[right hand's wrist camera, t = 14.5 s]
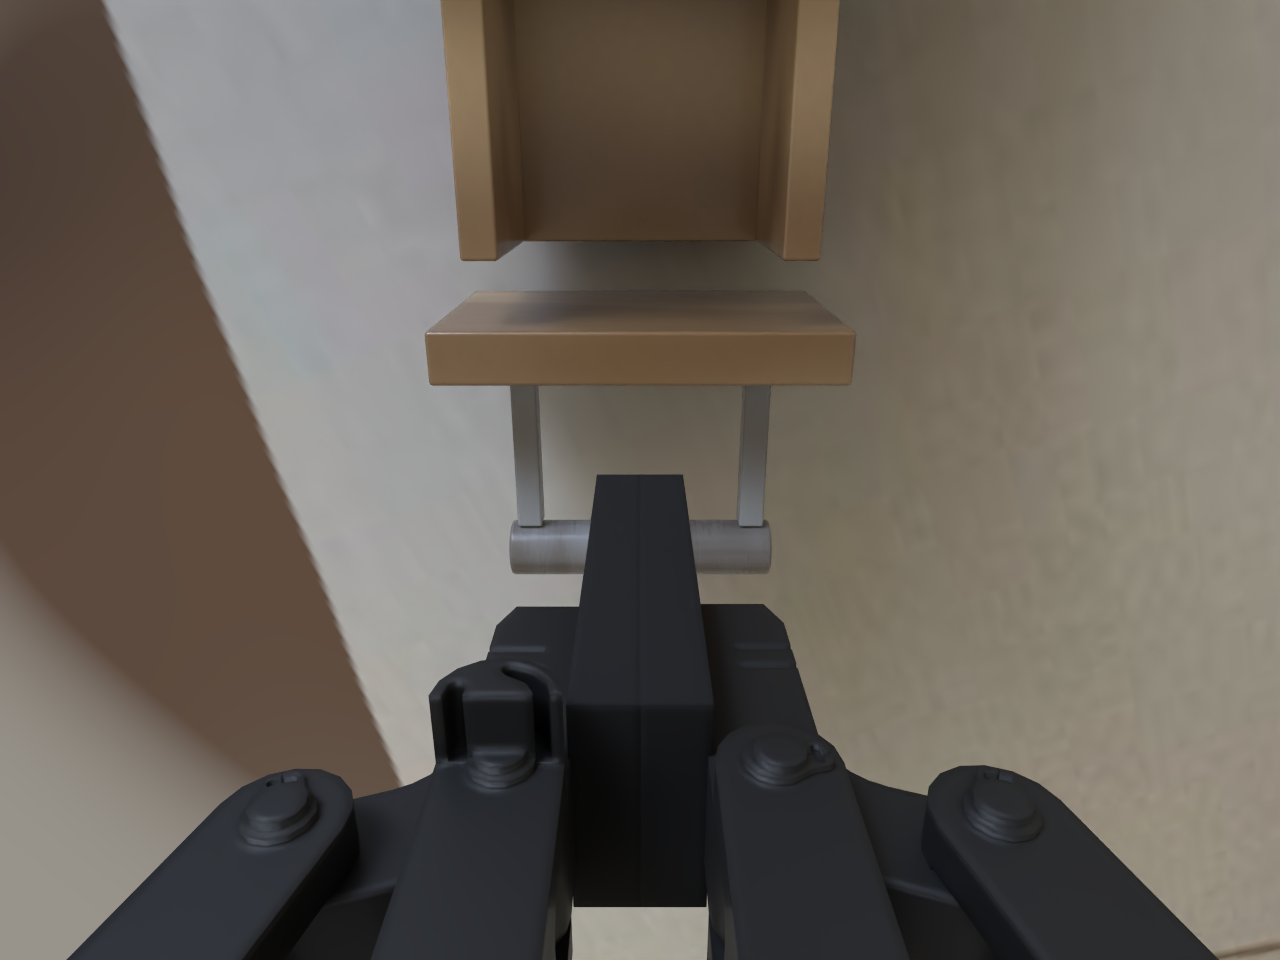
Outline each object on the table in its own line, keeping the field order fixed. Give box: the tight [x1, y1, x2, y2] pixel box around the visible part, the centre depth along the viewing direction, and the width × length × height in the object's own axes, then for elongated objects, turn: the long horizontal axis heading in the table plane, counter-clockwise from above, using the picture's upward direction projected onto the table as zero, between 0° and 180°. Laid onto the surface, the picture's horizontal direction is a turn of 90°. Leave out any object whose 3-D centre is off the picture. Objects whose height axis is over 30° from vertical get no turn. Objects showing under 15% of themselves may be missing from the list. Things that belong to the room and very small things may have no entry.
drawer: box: [425, 0, 856, 574], centre depth 19 cm, size 23×9×6 cm, turn 0°
